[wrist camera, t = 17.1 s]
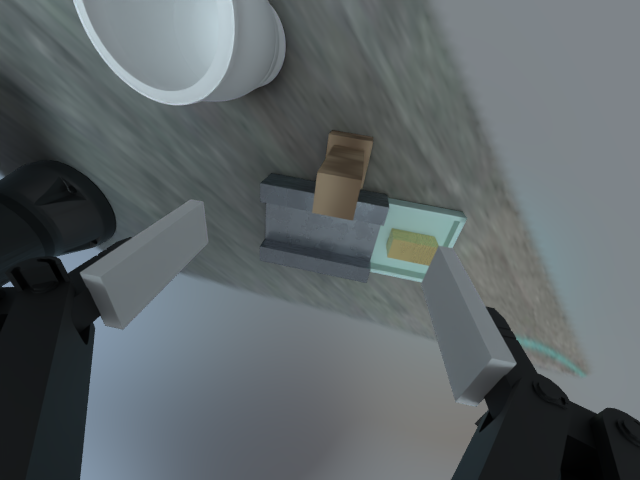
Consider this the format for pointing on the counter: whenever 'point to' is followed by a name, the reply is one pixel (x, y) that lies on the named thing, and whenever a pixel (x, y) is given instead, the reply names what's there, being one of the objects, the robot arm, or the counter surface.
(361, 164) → the stepped wooden block
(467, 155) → the counter surface
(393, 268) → the tray
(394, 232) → the chip
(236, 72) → the jar
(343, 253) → the slot board
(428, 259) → the yellow sponge cube
